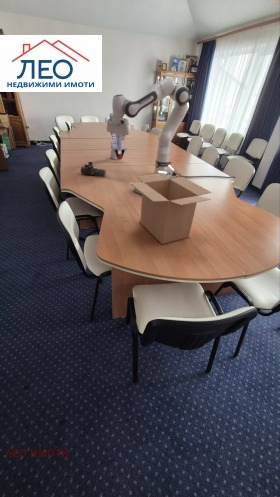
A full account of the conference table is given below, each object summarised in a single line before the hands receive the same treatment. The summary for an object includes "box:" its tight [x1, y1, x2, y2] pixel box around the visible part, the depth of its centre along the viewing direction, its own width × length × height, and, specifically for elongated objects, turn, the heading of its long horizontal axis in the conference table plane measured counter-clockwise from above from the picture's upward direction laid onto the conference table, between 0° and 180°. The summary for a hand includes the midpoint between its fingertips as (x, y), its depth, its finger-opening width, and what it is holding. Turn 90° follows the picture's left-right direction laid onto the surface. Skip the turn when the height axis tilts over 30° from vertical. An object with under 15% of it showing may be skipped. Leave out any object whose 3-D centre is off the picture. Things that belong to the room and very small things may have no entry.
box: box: [128, 173, 212, 245], centre depth 124 cm, size 44×36×27 cm
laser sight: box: [80, 161, 107, 177], centre depth 198 cm, size 10×22×10 cm, turn 78°
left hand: (119, 157), depth 234 cm, fingers closed on canister, 5 cm apart
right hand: (118, 139), depth 179 cm, fingers open, 8 cm apart
